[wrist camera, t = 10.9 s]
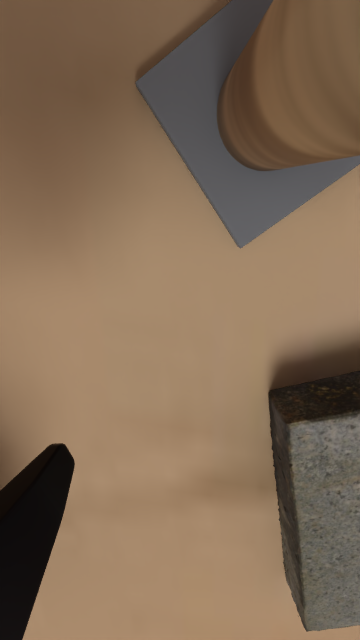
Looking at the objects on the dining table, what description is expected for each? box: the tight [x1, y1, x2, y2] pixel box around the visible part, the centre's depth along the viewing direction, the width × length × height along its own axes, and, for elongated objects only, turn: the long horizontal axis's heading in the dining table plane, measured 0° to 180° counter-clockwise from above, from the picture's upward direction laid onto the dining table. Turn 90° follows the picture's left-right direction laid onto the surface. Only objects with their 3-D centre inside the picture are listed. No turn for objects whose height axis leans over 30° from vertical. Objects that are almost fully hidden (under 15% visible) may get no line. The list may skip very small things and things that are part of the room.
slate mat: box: [136, 0, 360, 248], centre depth 16 cm, size 9×9×1 cm
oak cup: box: [217, 0, 360, 171], centre depth 9 cm, size 5×5×13 cm
